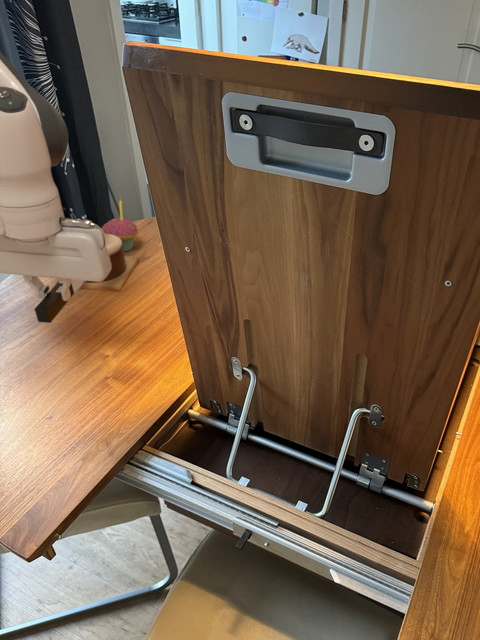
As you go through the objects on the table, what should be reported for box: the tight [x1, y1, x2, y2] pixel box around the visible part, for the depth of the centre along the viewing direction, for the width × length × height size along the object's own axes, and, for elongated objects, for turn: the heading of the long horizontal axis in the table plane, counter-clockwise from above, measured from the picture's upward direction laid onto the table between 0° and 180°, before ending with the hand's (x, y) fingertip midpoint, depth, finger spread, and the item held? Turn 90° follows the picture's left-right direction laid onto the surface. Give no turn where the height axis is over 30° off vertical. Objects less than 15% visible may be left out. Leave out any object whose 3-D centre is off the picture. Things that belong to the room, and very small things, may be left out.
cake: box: [55, 233, 140, 292], centre depth 115 cm, size 14×14×7 cm
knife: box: [34, 280, 86, 324], centre depth 88 cm, size 20×3×2 cm, turn 174°
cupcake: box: [101, 197, 139, 253], centre depth 124 cm, size 9×8×12 cm
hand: (54, 298), depth 83 cm, fingers closed on knife, 2 cm apart
